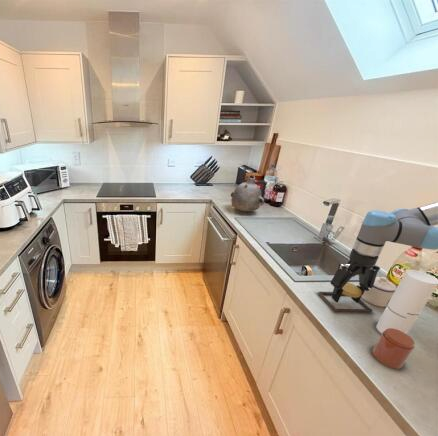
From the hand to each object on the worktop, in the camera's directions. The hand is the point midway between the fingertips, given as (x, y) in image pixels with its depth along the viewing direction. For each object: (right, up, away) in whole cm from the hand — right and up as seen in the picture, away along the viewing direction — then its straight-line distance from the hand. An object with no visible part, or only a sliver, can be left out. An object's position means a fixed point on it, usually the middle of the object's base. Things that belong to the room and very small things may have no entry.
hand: (344, 300), depth 95 cm
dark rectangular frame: (0, -2, +1) cm, 2 cm away
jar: (-5, -12, -21) cm, 24 cm away
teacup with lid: (+15, -1, +4) cm, 16 cm away
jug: (-2, +38, +95) cm, 102 cm away
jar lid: (0, +5, -2) cm, 6 cm away
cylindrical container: (+6, -8, -12) cm, 15 cm away
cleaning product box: (+12, +47, +114) cm, 123 cm away
